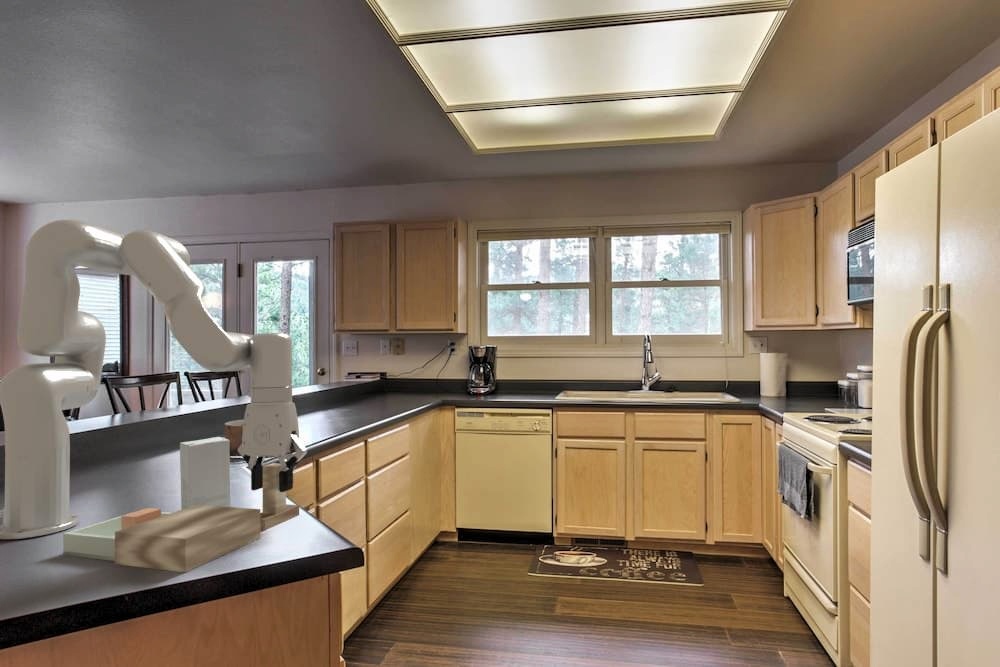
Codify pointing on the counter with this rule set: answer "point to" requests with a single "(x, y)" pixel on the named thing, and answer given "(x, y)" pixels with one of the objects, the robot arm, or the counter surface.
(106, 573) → the counter surface
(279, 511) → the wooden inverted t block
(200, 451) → the skincare box
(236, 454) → the cooking pot
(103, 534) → the box
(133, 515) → the salmon pink brick
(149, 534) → the birch block
